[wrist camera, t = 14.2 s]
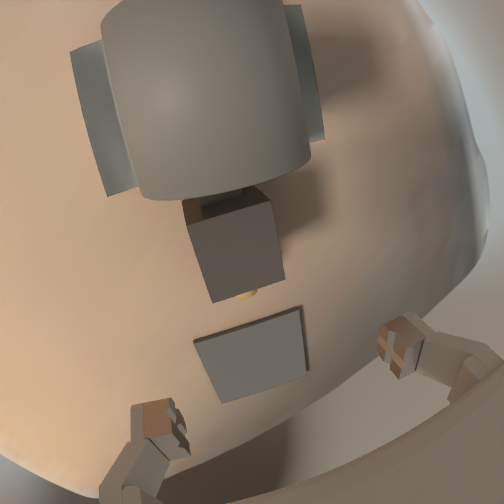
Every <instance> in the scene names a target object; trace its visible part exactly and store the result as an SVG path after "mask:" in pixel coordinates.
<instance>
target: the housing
mask: <svg viewBox="0 0 504 504" xmlns="http://www.w3.org/2000/svg"><path fill="white" fill-rule="evenodd" d="M101 33H102V38H103V39H102V40H99V41H96V42H93V43H91V44H88V45H86V46H83V47H81V48H78V49H76V50H73V51H71V52H70V57H71V62H72V67H73V73H74V77H75V82H76V87H77V91H78V96H79V100H80V104H81V109H82V113H83V117H84V121H85V124H86V128H87V132H88V136H89V139H90V143H91V146H92V150H93V153H94V157H95V160H96V163H97V166H98V170H99V173H100V176H101V179H102V182H103V185H104V188H105V191H106V194H107V197H109V196H112V195H114V194H117V193H120V192H123V191H126V190H129V189H132V188H135V187H138V186H139V187H140V190H141V193H142V195H143V196H144V197H145V198H148V199H151V200H180V199H189V198H196V197H202V196H208V195H213V194H218V193H223V192H228V191H232V190H236V189H240V188H244V187H248V186H251V185H255V184H258V183H262V182H265V181H268V180H271V179H274V178H277V177H279V176H282V175H285V174H287V173H289V172H292V171H294V170H296V169H298V168H300V167H301V166H303V165H304V164H306V163H307V162H308V161H309V160H310V158H311V152H310V145H309V142H313V141H319V140H324V139H325V133H324V126H323V119H322V112H321V106H320V100H319V94H318V88H317V82H316V76H315V71H314V66H313V60H312V55H311V50H310V45H309V41H308V36H307V31H306V27H305V22H304V18H303V14H302V9H301V5H283V3H282V0H123V1H122V2H120V3H119V4H118V5H116V6H115V7H114V8H113V9H111V10H110V11H109V12H108V13H107V14H106V16H105V17H104V19H103V20H102V23H101Z"/></svg>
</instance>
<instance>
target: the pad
mask: <svg viewBox="0 0 504 504" xmlns="http://www.w3.org/2000/svg"><path fill="white" fill-rule="evenodd" d="M193 343H194V346H195V348H196V350H197V352H198V355H199V357H200V359H201V361H202V363H203V365H204V368H205V370H206V372H207V374H208V376H209V378H210V380H211V382H212V384H213V386H214V389H215V391H216V393H217V395H218V397H219V399H220V401H221V403H222V404H223V403H226V402H230V401H233V400H236V399H240V398H243V397H246V396H249V395H252V394H255V393H258V392H261V391H264V390H267V389H270V388H273V387H276V386H279V385H281V384H284V383H287V382H290V381H292V380H295V379H298V378H300V377H303V376H306V375H307V373H306V363H305V354H304V346H303V337H302V329H301V321H300V313H299V309H298V307H296V308H293V309H290V310H287V311H284V312H282V313H279V314H276V315H273V316H270V317H267V318H264V319H261V320H258V321H255V322H252V323H249V324H246V325H243V326H239V327H236V328H233V329H230V330H227V331H224V332H220V333H217V334H214V335H210V336H207V337H204V338H200V339H197V340H194V341H193Z"/></svg>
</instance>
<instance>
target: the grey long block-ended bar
mask: <svg viewBox="0 0 504 504" xmlns="http://www.w3.org/2000/svg"><path fill="white" fill-rule="evenodd" d="M182 206H183V211H184V216H185V221H186V226H187V229H188V233H189V236H190V239H191V242H192V245H193V248H194V251H195V254H196V257H197V260H198V263H199V266H200V269H201V272H202V275H203V278H204V280H205V283H206V286H207V289H208V292H209V295H210V298H211V300H212V303H216V302H219V301H222V300H225V299H228V298H231V297H234V296H235V297H237V298H240V299H245V298H249V297H251V296H253V295H254V294H255V293H256V292H257V289H258V288H261V287H264V286H267V285H270V284H273V283H276V282H279V281H282V280H285V274H284V268H283V262H282V257H281V251H280V246H279V241H278V235H277V230H276V225H275V219H274V214H273V209H272V204H271V200H270V199H269V198H267V197H266V196H265V195H264V194H263V193H262V192H261V191H260V190H258V189H257V188H256V187H255V186H254V185H251V186H248V187H244V188H240V189H236V190H232V191H228V192H223V193H218V194H213V195H208V196H202V197H196V198H190V199H187V200H183V201H182Z"/></svg>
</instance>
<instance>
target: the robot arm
mask: <svg viewBox="0 0 504 504" xmlns="http://www.w3.org/2000/svg"><path fill="white" fill-rule="evenodd" d="M378 333H379V334H380V337H379V339H378V340H377V350H378V353H379V355H380V357H381V358H382V360H383V361H384V362H386V363H389V364H390V370H391V371H392V372H393V373H394V374H395V376H396V377H397V378H398V379H401V378H403V377H405V376H407V375H409V374H411V373H412V372H414V371H416V372H417V373H419V374H421V375H424V376H426V377H429V378H431V379H433V380H435V381H438V382H440V383H442V384H445V385H447V386H449V387H452V389H451V391H450V393H449V395H448V398H447V400H448V401H449V402H450V403H451V404H449V405H448V406H447V407H445V408H444V409H442V410H441V411H439V412H438V413H436V414H435V415H433V416H432V417H430V418H429V419H427V420H426V421H424V422H423V423H421V424H419V425H418V426H416V427H415V428H413V429H411V430H410V431H408V432H406V433H405V434H403V435H401V436H399V437H398V438H396V439H394V440H393V441H390V442H389V443H387V444H385V445H383V446H381V447H379V448H377V449H376V450H373V451H372V452H370V453H368V454H366V455H363V456H361V457H359V458H358V459H355V460H353V461H351V462H349V463H346V464H344V465H342V466H340V467H337V468H335V469H333V470H331V471H328V472H326V473H323V474H321V475H318V476H316V477H313V478H311V479H308V480H305V481H302V482H300V483H297V484H294V485H291V486H288V487H285V488H282V489H279V490H276V491H272V492H269V493H265V494H262V495H259V496H255V497H251V498H248V499H243V500H240V501H235V502H231V503H227V504H504V360H503V359H502V358H501V357H500V356H498V355H497V354H496V353H495V352H494V351H493V350H492V349H491V348H490V347H489V346H488V345H487V344H485V343H482V342H478V341H473V340H470V339H465V338H462V337H458V336H454V335H450V334H447V333H443V332H437V333H436V332H435V331H434V330H432V329H431V328H430V327H429V326H428V325H427V324H426V323H425V322H424V321H423V320H422V319H421V318H419V317H418V316H417V315H416V314H415V313H414V312H412V311H409V312H407V313H405V314H403V315H401V316H399V317H397V318H394V319H392V320H390V321H388V322H386V323H384V324H382V325H380V327H379V329H378ZM130 429H131V442H127V443H126V445H125V447H124V448H123V450H122V451H121V453H120V454H119V456H118V458H117V459H116V461H115V462H114V464H113V466H112V467H111V469H110V470H109V472H108V473H107V475H106V477H105V478H104V480H103V481H102V483H101V485H100V486H99V504H163V503H161V502H160V501H158V500H157V499H155V497H156V495H157V492H158V490H159V488H160V485H161V483H162V481H163V478H164V476H165V473H166V471H167V469H168V466H169V464H170V461H171V460H176V459H181V458H185V457H190V456H191V453H190V447H189V442H188V440H187V439H186V438H185V434H186V433H187V430H186V425H185V421H184V418H183V416H182V414H181V412H180V411H179V409H176V408H175V403H174V401H173V400H172V399H171V398H166V399H161V400H156V401H151V402H145V403H140V404H135V405H132V406H131V409H130Z"/></svg>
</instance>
